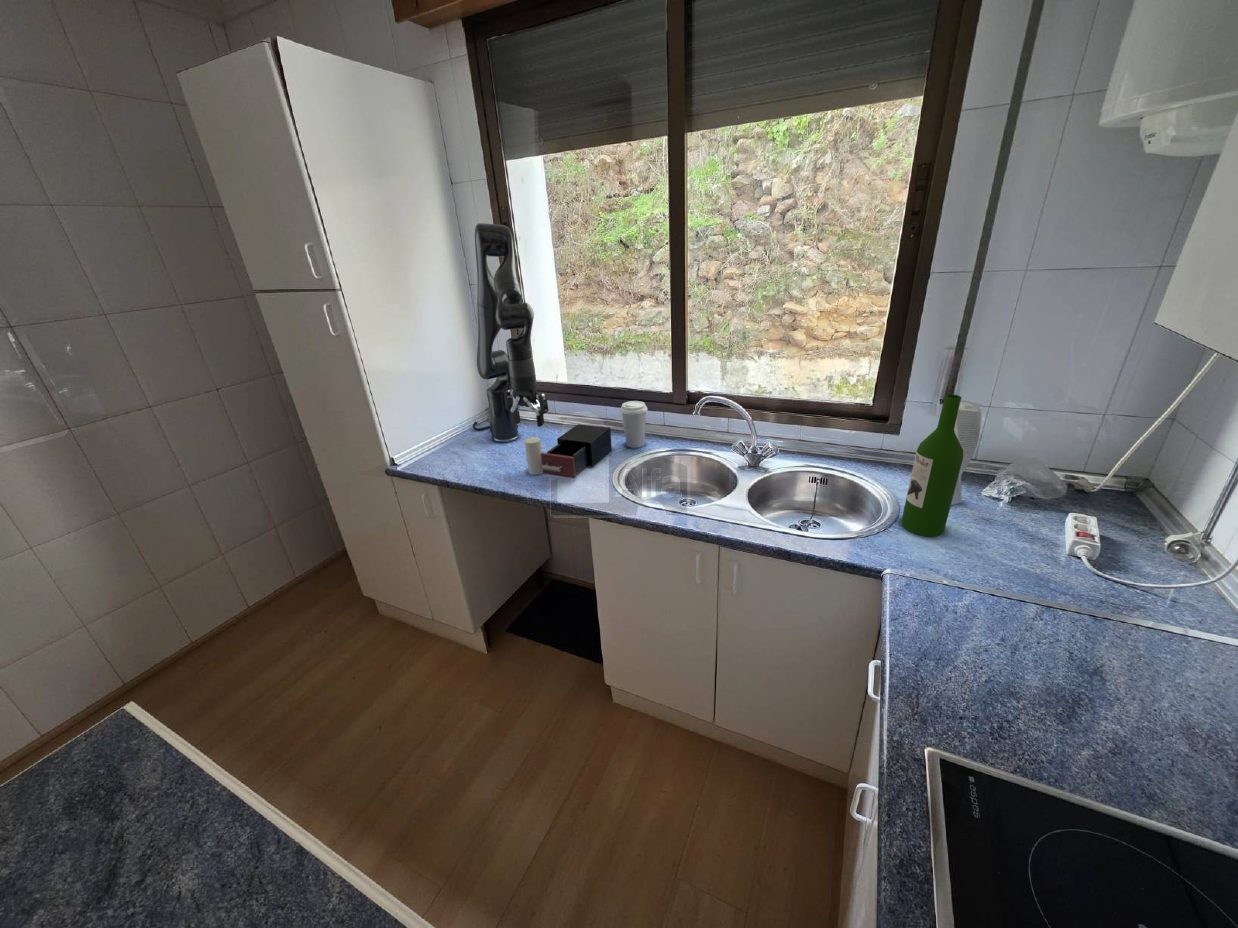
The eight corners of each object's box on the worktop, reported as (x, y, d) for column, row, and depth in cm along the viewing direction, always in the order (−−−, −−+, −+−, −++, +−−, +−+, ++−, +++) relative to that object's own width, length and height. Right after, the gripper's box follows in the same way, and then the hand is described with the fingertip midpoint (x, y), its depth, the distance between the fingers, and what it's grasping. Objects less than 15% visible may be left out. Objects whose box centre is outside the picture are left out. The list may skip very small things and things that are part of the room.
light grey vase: (941, 509, 124) (968, 403, 112) (919, 496, 130) (942, 395, 119) (968, 504, 125) (997, 399, 114) (945, 491, 132) (970, 391, 120)
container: (525, 473, 157) (521, 442, 152) (534, 467, 161) (530, 436, 156) (538, 475, 155) (534, 443, 150) (547, 469, 159) (543, 438, 154)
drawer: (567, 484, 146) (565, 463, 143) (535, 479, 151) (533, 459, 148) (594, 461, 161) (592, 442, 158) (564, 457, 165) (562, 438, 162)
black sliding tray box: (592, 467, 159) (590, 442, 155) (559, 462, 164) (556, 438, 160) (611, 450, 171) (610, 427, 167) (580, 446, 176) (578, 424, 172)
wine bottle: (892, 521, 120) (918, 393, 107) (922, 514, 122) (952, 388, 108) (921, 539, 112) (953, 404, 99) (953, 533, 114) (989, 399, 101)
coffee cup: (617, 442, 177) (615, 403, 171) (641, 437, 180) (639, 398, 174) (629, 451, 169) (627, 410, 163) (653, 445, 172) (652, 405, 166)
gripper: (549, 371, 145) (554, 423, 152) (510, 368, 150) (517, 418, 157) (535, 378, 139) (541, 431, 145) (495, 374, 144) (502, 426, 151)
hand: (528, 424), depth 151 cm, fingers open, 8 cm apart
